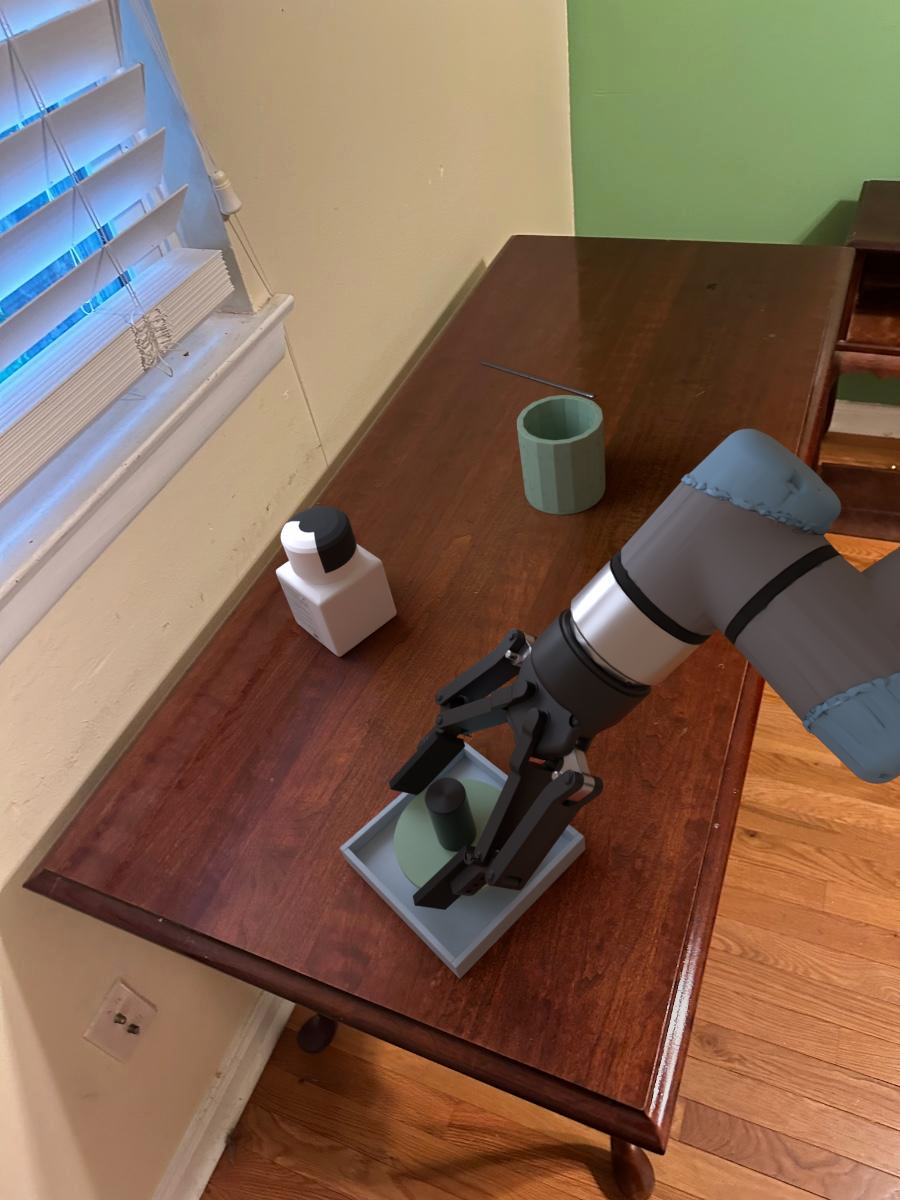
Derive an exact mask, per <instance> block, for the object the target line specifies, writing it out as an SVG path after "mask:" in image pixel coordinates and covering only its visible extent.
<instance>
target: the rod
mask: <svg viewBox="0 0 900 1200" xmlns="http://www.w3.org/2000/svg"><path fill="white" fill-rule="evenodd" d="M480 365H482V366H485V367H489V368H491V369H496V370H498V371H502V372H504V373H508V374H510V375H514V376H518V377H521V378H524V379H527V380H530V381H534V382H537V383H540V384H542V385H546V386H549V387H552V388H556V389H559V390H563V391H566V392H569V393H571V394H575V395H577V396H581V397H584V398H587V399H590V400H594V399H595V398H596V394H595V393H591V392H587V391H585V390H581V389H578V388H574V387H572V386H568V385H565V384H562V383H558V382H555V381H551V380H549V379H545V378H542V377H540V376H539V377H538V376H535V375H532V374H529V373H526V372H522V371H519V370H516V369H513V368H509V367H506V366H502V365H500V364H496V363H493V362H490V361H486V360H483V359H481V361H480Z"/></svg>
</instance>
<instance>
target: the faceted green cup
mask: <svg viewBox="0 0 900 1200" xmlns="http://www.w3.org/2000/svg"><path fill="white" fill-rule="evenodd" d="M603 415H604V414H603V409H602V408H601V407H600V406H599V405H598V404H597V403H596V402H595V401H594V400H592V399H590V398H587V397H584V396H581V395H571V394H560V395H551V396H547V397H543V398H541V399H538V400H535V401H533V402H531V403H530V404H529V405H527V406H525V407H524V408H523V409H522V410H521V412H520V413H519V415H518V417H517V418H516V430H517V437H518V447H519V455H520V462H521V463H520V464H521V471H522V480H523V488H524V494H525V498H526V500H527V502H528V503H529V504H530V506H532V507H533V508H535V509H536V510H538V511H540V512H543V513H545V514H549V515H557V516H558V515H559V516H565V515H573V514H577V513H581V512H584V511H586V510H588V509H591V508H592V507H594V506H595V505H596V504H598V503H599V502H600V500H601V499H602V498H603V496H604V494H605V491H606V461H605V435H604V434H605V433H604V431H605V430H604V429H605V428H604V416H603Z"/></svg>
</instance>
